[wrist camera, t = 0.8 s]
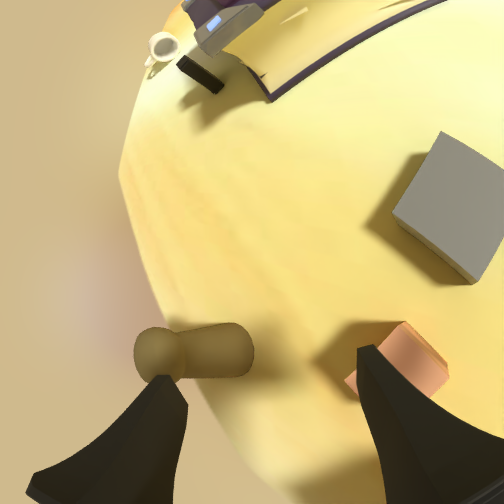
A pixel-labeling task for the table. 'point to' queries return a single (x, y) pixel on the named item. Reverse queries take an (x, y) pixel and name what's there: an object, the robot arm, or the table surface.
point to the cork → (194, 352)
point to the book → (291, 32)
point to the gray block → (456, 206)
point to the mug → (162, 48)
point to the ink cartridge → (199, 74)
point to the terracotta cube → (411, 360)
